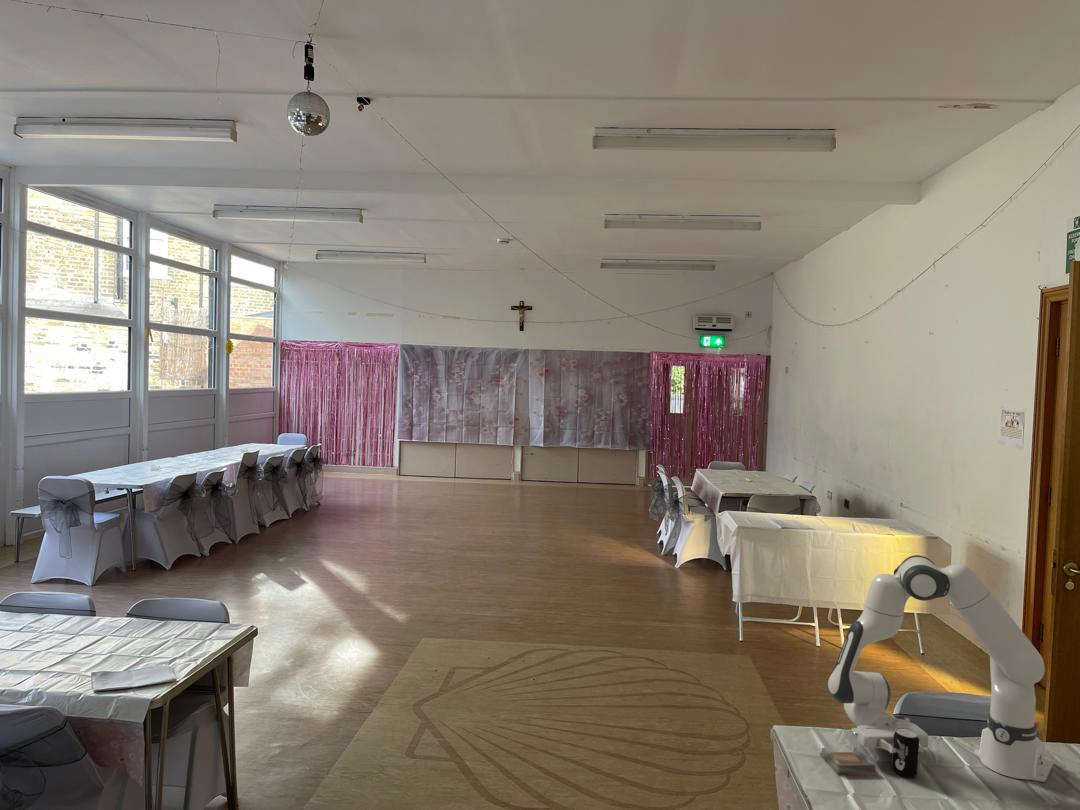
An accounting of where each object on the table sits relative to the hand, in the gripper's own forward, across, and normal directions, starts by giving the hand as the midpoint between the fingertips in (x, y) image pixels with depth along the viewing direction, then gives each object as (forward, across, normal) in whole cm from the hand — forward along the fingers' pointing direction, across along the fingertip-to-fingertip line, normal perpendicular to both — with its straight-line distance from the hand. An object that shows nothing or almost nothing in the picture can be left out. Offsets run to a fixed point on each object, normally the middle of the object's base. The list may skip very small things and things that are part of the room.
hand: (907, 750), depth 208 cm
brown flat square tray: (-6, -15, +7) cm, 17 cm away
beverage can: (-1, 0, +7) cm, 7 cm away
